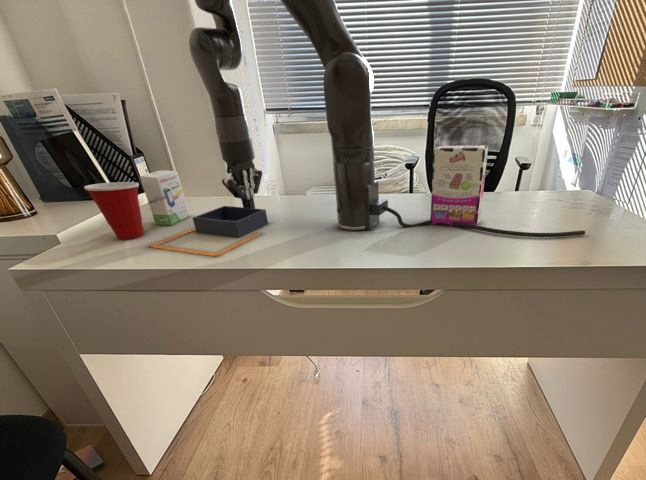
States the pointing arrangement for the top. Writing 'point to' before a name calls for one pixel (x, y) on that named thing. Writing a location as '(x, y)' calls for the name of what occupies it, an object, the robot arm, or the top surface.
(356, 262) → the top surface
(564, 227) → the top surface
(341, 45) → the robot arm
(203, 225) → the dark blue tray
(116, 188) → the plastic cup
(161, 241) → the tape marks
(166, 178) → the ink box
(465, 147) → the candy bar box
